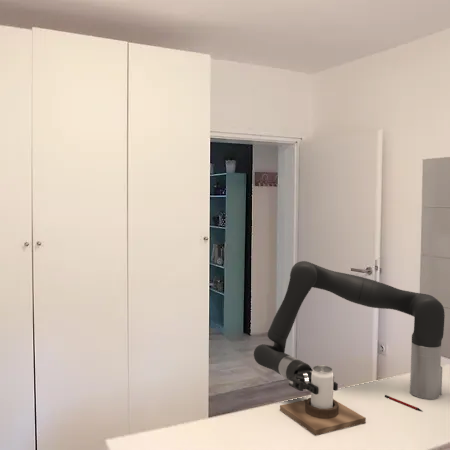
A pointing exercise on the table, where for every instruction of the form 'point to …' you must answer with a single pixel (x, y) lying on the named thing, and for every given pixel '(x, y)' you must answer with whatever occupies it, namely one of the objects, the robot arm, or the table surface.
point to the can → (322, 387)
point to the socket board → (322, 423)
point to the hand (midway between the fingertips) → (327, 389)
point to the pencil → (403, 403)
